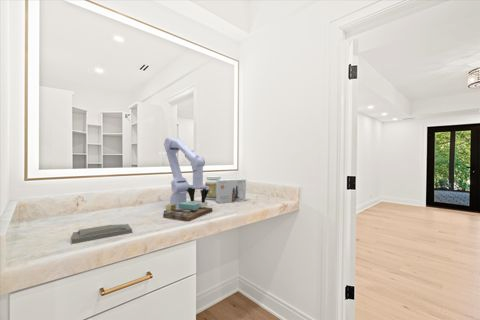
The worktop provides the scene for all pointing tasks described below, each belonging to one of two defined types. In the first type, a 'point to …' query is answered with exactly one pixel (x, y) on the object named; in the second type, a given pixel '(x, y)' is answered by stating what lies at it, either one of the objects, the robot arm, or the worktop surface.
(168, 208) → the brass slider
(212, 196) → the supplement tub
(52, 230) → the worktop surface
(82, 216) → the worktop surface
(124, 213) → the worktop surface
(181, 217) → the panel
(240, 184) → the skincare box
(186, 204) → the teal button
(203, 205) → the white rectangular block
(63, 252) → the worktop surface
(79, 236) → the soap mold
